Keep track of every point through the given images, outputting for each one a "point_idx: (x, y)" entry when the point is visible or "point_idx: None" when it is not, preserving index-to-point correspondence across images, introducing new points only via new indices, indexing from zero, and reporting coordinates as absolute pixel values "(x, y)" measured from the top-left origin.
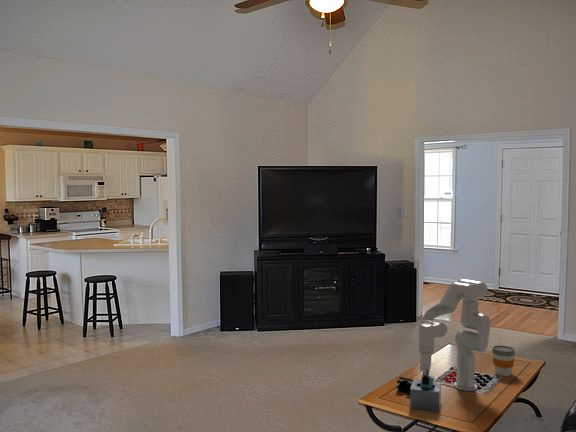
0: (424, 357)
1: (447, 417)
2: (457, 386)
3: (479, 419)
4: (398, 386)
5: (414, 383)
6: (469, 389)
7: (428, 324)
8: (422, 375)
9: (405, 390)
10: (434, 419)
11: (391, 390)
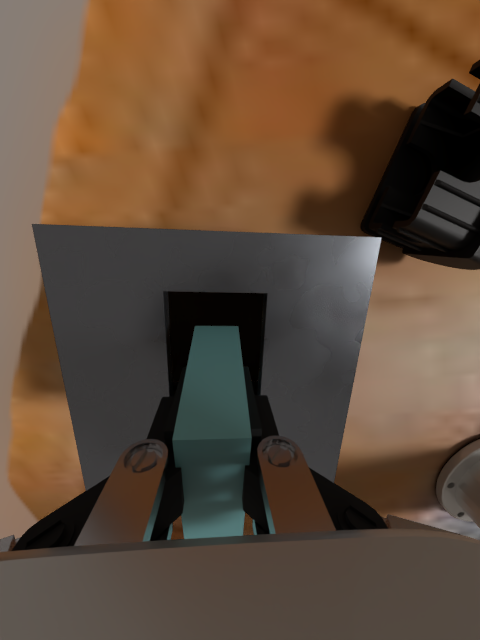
0: None
1: None
2: (475, 455)
3: None
4: (453, 99)
5: (245, 262)
6: (441, 497)
7: None
8: (174, 441)
9: (417, 173)
10: (32, 376)
11: (425, 51)
